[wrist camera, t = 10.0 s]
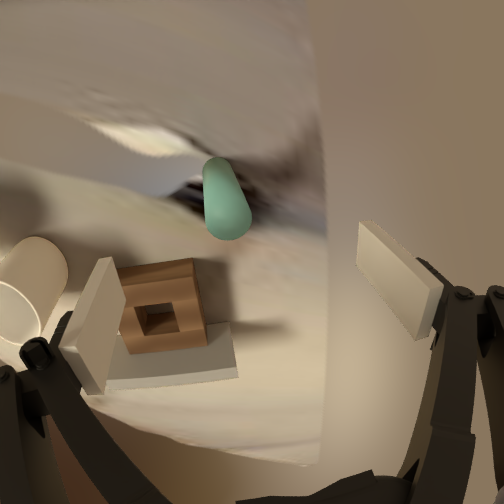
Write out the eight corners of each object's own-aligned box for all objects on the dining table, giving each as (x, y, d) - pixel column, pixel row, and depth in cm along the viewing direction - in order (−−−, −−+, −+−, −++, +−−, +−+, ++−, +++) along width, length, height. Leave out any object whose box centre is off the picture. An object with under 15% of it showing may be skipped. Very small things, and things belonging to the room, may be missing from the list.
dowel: (200, 159, 31) (202, 200, 20) (230, 155, 32) (249, 194, 20) (204, 187, 33) (208, 243, 21) (233, 183, 33) (253, 236, 22)
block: (110, 269, 35) (102, 289, 32) (192, 257, 36) (192, 276, 33) (133, 333, 40) (129, 354, 37) (206, 324, 41) (207, 345, 38)
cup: (82, 275, 35) (56, 330, 26) (28, 312, 36) (1, 363, 27) (41, 221, 31) (1, 266, 22) (-9, 267, 32) (-46, 312, 23)
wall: (113, 335, 40) (103, 380, 33) (229, 321, 41) (236, 366, 34) (118, 346, 41) (109, 390, 34) (231, 332, 42) (238, 377, 35)
